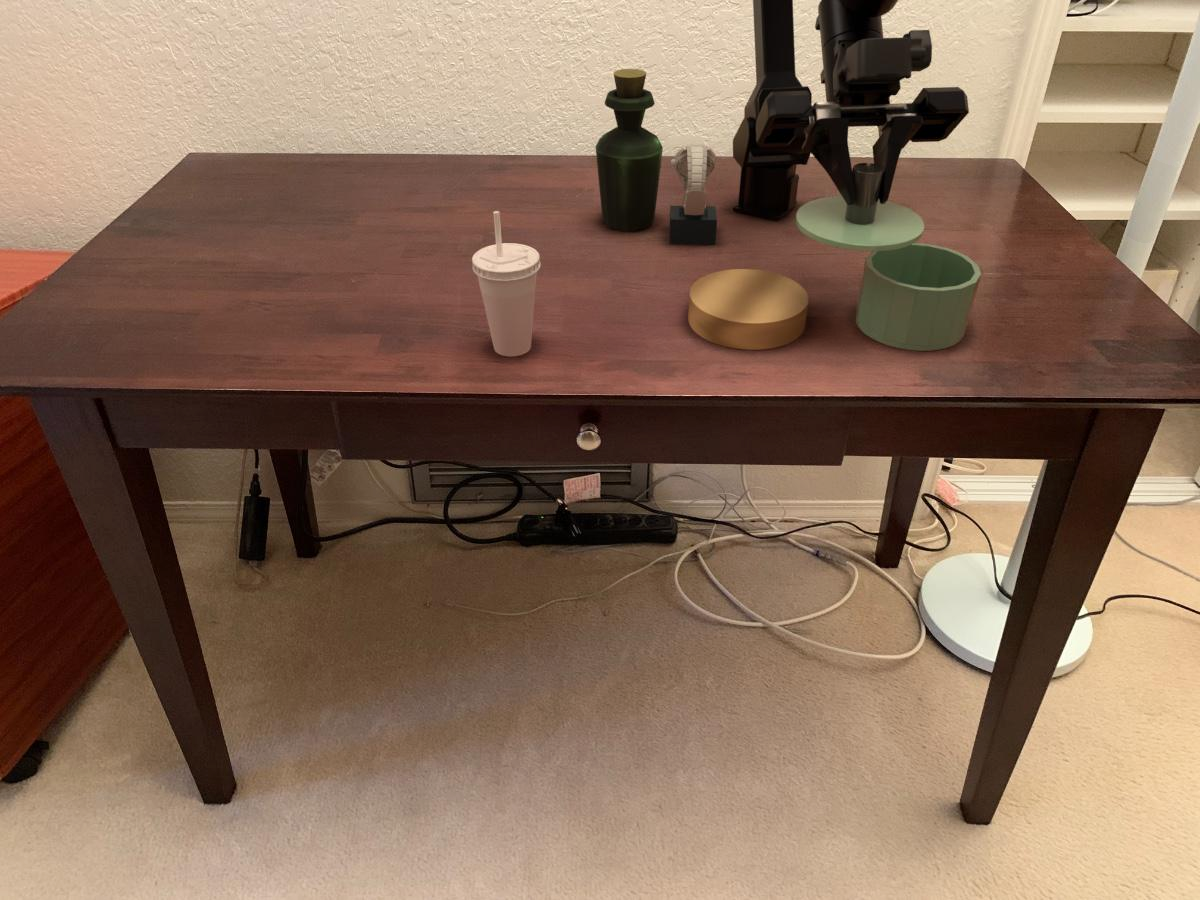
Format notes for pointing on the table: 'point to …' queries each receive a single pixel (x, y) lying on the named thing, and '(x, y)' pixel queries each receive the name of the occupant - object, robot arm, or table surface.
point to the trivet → (747, 309)
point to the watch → (693, 198)
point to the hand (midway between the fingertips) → (867, 202)
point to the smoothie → (508, 291)
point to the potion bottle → (629, 157)
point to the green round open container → (917, 296)
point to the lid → (861, 217)
